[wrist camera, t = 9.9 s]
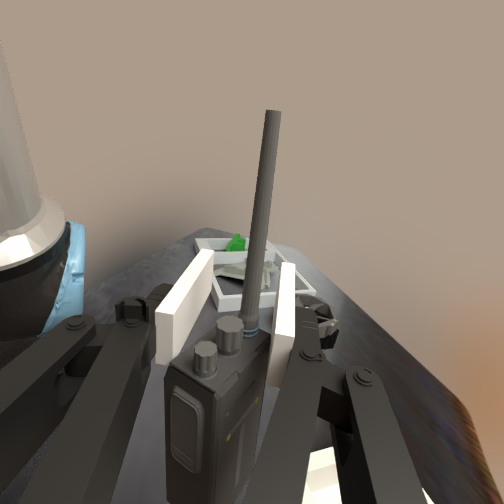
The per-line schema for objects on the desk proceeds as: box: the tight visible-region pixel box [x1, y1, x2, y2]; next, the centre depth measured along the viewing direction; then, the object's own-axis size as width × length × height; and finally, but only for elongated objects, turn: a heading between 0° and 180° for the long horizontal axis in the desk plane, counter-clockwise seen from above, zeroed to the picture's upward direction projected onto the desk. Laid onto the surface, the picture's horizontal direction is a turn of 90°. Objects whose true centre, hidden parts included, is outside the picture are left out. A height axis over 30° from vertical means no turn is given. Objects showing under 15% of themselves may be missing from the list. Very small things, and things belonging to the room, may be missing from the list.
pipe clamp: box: [226, 234, 246, 252], centre depth 81 cm, size 10×4×4 cm, turn 168°
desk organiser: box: [195, 238, 316, 312], centre depth 73 cm, size 30×21×3 cm
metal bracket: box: [213, 258, 279, 290], centre depth 71 cm, size 14×6×15 cm
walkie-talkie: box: [164, 110, 281, 504], centre depth 13 cm, size 5×3×20 cm
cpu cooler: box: [295, 293, 339, 349], centre depth 54 cm, size 10×6×10 cm
